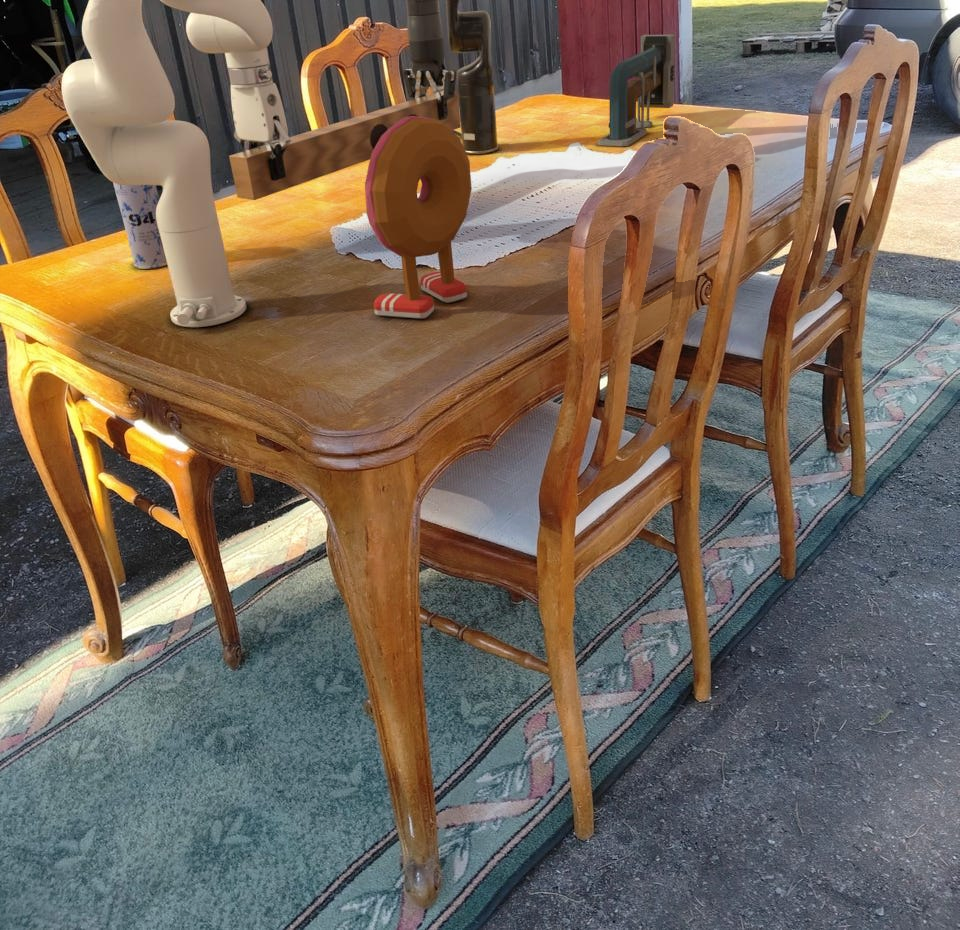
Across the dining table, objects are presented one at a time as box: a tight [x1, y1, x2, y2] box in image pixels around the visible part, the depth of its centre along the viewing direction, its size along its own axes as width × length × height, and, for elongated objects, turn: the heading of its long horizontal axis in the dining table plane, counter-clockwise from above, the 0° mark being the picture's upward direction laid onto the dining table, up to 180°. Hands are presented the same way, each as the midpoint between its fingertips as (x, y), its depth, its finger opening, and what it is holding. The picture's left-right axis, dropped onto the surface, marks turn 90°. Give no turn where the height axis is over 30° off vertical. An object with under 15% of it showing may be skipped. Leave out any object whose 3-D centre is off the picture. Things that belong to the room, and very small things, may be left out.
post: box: [228, 91, 461, 201], centre depth 201 cm, size 63×5×8 cm, turn 143°
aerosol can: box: [112, 182, 168, 270], centre depth 186 cm, size 8×8×20 cm
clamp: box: [596, 34, 676, 147], centre depth 254 cm, size 35×9×21 cm, turn 151°
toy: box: [364, 114, 473, 319], centre depth 153 cm, size 21×10×30 cm, turn 141°
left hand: (268, 176), depth 185 cm, fingers closed on post, 4 cm apart
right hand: (433, 118), depth 217 cm, fingers closed on post, 5 cm apart
